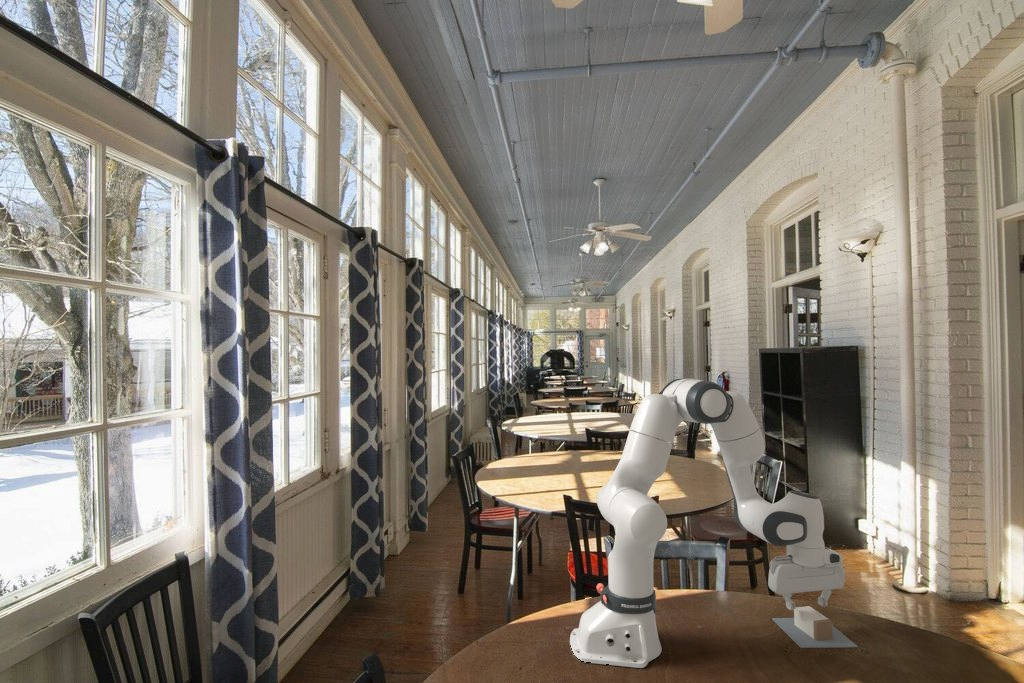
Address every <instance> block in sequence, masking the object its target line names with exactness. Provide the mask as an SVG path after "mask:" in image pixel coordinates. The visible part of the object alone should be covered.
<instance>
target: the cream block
mask: <svg viewBox="0 0 1024 683" xmlns="http://www.w3.org/2000/svg"><path fill="white" fill-rule="evenodd" d="M795 607H796V606H795ZM793 618H794V625H795V626H797V627H798V628H800V629H801V630H802V631H804V632H805V633H807V634H808V635H809V636H811V637H812V638H813V639H815V640H816V641H821V640H830V639H833V631H832V625H833V620H831V619H830V618H828V617H826V615H823V614H822V613H821V612H819V611H818V610H816V609H814V608H813V607H812V606H810V605H808V606H797V607H796V609H794V610H793Z"/></svg>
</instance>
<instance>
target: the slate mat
mask: <svg viewBox="0 0 1024 683" xmlns="http://www.w3.org/2000/svg"><path fill="white" fill-rule="evenodd" d="M771 620H772V621H773V622H774V623H775V624H776V625H777V626H779V628H780V629H781V630H782V631H783V632H784V633H785V634H787V636H788V637H789V638H790V639H791V640H792V641H794V643H795V644H796V645H797V646H798V647H799V648H800V649H826V648H827V649H829V648H830V649H833V648H834V649H837V648H839V649H840V648H843V649H844V648H859V646H858V645H857V644H856V643H855V642H853V641H852V640H851V639H849V637H847V635H845V634H844V633H843V632H842V631H840V630H839V629H838V628H836V627H835V626H834V625H833V624H832V631H833V639H830V640H821V641H816V640H815V639H813V638H812V637H811V636H809V635H808V634H807V633H805V632H804V631H802V630H801V629H800V628H798V627H797V626H795V625H794V617H772V619H771Z"/></svg>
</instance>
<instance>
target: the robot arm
mask: <svg viewBox="0 0 1024 683" xmlns="http://www.w3.org/2000/svg"><path fill="white" fill-rule="evenodd" d="M683 421H687V422H690V423H691V422H692V423H700V424H706V425H710V426H711V428H712V430H713V434H714V436H715V439H716V442H717V444H718V446H719V450H720V452H721V455H722V462H723V466H724V470H725V473H726V477H727V479H728V483H729V486H730V488H731V489H730V490H731V494H732V496H733V514H734V516H733V517H734V520H735V521H736V522H735V523H736V524H737V525H738V526H739V527H740V528H741V529H742V531H743V530H744V531H746V532H747V533H749V534H752V535H754V536H756V537H757V538H759V539H761V540H763V541H764V542H766V543H768V544H770V545H773V546H775V547H786V555H785V554H784V555H776V556H774V558H772V559H771V560H770V562H769V571H768V580H767V584H768V588H769V589H770V590H771V591H772V592H774V593H775V594H776V595H779V596H780V595H782V597H783V599H784V600H785V607H786V609H788V610H789V611H791V610H793V611H794V609H796V606H797V605H796V604H797V603H796V602H794V601H793V600H792V599H791V598H792V597H793V594H799V593H810V592H820V591H821V594H820V596H818V597H817V605H819V606H821V607H828V600H829V599H830V596H831V595H832V590H838V589H843V587H844V586H845V582H846V580H845V575H846V574H845V568H844V564H843V562H844V561H843V560H844V557H843V554H841V553H840V552H837V551H835V550H833V549H831V548H829V547H827V546H825V541H824V538H823V534H824V530H825V518H824V517H825V516H824V509H823V506H822V502H821V499H820V498H818V497H817V496H816V495H814V494H811V493H808V492H804V491H801V490H788V492H787V494H786V495H785V496H784V497H783V498H781V499H780V500H778V501H777V502H774V503H771V502H769V501H767V500H765V498H763V497H762V496H761V495H760V494H759V493H758V491H757V489H756V485H755V482H754V477H753V475H752V471H751V465H752V464H753V465H754V464H755V463H757V462H758V461H760V459H761V458H762V457H763V455H764V453H765V451H766V444H765V439H764V436H763V435H764V434H763V433H762V430H761V427H760V425H759V422H758V421H757V418H756V416H755V413H754V412H753V410H752V408H751V406H750V405H749V404H748V401H747V400H746V399H745V397H744V396H743V395H742V394H741V393H740V392H736V391H731V390H725V389H724V387H722V386H721V385H720V384H718V383H716V382H714V381H712V380H711V381H710V380H703V379H697V378H677V379H673V380H671V381H670V382H667V384H666V385H664V387H663V388H662V389H661V391H659V393H651V394H647V395H645V396H644V397H643V398H642V399H641V402H640V403H639V405H638V407H637V410H636V412H635V414H634V416H633V419H632V422H631V425H630V428H629V430H628V434H627V438H626V441H625V445H624V447H623V451H622V454H621V457H620V459H619V461H618V464H617V465H616V468H615V469H614V471H613V473H612V474H611V476H610V478H609V480H608V481H607V482H606V483H604V485H602V487H600V489H599V490H598V493H597V496H596V504H597V508H598V510H599V512H600V514H601V515H602V517H603V518H604V520H605V521H607V522H608V523H609V524H610V525H612V526H613V528H614V532H615V537H614V542H613V547H612V549H611V551H610V552H609V554H608V557H607V570H608V571H607V572H608V584H607V585H606V586H605V585H604V584H603V583H601V582H600V583H597V585H596V587H595V588H596V590H597V593H598V594H600V601H598V602H597V603H595V604H594V605H592V606H591V607H590V608H588V609H586V610H585V611H584V612H583V613H582V614H581V616H580V618H579V619H580V620H579V624H578V627H577V628H573V630H572V631H571V633H570V637H569V646H570V645H571V647H570V649H571V648H572V650H571V652H572V651H573V653H574V654H573V653H572V654H573V656H574V655H575V656H576V657H577V658H578V659H580V660H581V661H584V662H583V663H586V662H591V663H590V664H596V665H606V664H609V665H608V666H618V667H627V668H636V669H637V668H638V669H643V668H645V667H646V666H648V664H649V662H651V661H654V659H657V657H659V656H660V655H661V653H662V645H661V641H660V638H659V634H658V627H657V620H656V612H657V611H656V609H657V595H656V590H655V589H654V560H655V553H656V549H657V545H658V542H659V541H660V540H661V539H662V538H664V536H665V534H666V532H667V528H668V518H667V515H666V514H665V511H664V510H663V508H662V507H661V505H660V504H659V503H657V501H656V500H655V499H653V498H652V497H650V496H648V494H649V492H650V489H651V488H652V486H653V485H654V483H655V482H656V481H657V479H659V478H661V476H663V475H664V474H665V471H666V467H667V466H668V465H667V464H668V461H669V458H670V454H671V450H672V447H673V444H674V439H675V436H676V432H677V430H678V427H679V426H680V424H682V423H683ZM575 656H574V657H575ZM576 657H575V658H576ZM577 658H576V659H577ZM578 659H577V660H578ZM580 660H579V661H580ZM581 661H580V662H581Z"/></svg>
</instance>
